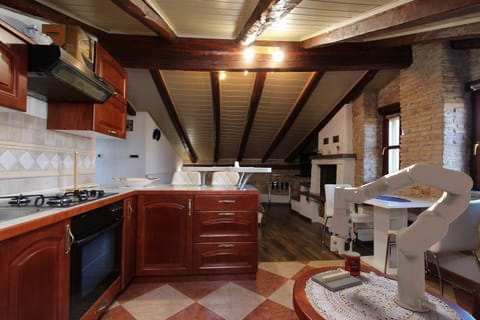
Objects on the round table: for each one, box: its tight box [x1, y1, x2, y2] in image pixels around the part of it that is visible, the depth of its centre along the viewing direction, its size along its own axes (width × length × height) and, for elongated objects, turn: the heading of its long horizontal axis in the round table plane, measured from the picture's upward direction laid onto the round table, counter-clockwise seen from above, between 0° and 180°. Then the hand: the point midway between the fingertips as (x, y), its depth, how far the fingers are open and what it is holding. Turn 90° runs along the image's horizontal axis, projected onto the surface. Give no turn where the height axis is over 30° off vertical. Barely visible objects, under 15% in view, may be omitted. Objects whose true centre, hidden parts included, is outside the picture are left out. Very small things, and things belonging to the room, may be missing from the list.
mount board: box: [310, 269, 363, 292], centre depth 121 cm, size 14×20×3 cm
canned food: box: [344, 251, 362, 277], centre depth 131 cm, size 8×8×11 cm
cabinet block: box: [329, 234, 353, 255], centre depth 117 cm, size 6×9×7 cm
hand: (341, 248), depth 117 cm, fingers closed on cabinet block, 6 cm apart
